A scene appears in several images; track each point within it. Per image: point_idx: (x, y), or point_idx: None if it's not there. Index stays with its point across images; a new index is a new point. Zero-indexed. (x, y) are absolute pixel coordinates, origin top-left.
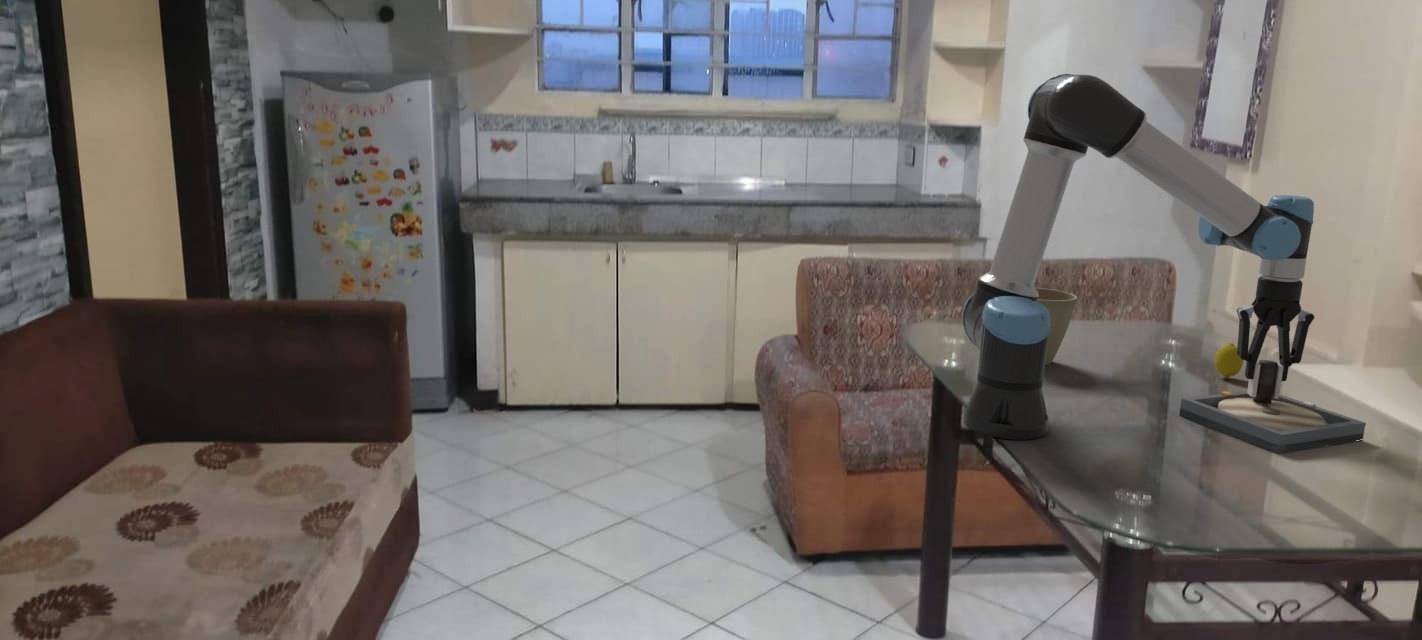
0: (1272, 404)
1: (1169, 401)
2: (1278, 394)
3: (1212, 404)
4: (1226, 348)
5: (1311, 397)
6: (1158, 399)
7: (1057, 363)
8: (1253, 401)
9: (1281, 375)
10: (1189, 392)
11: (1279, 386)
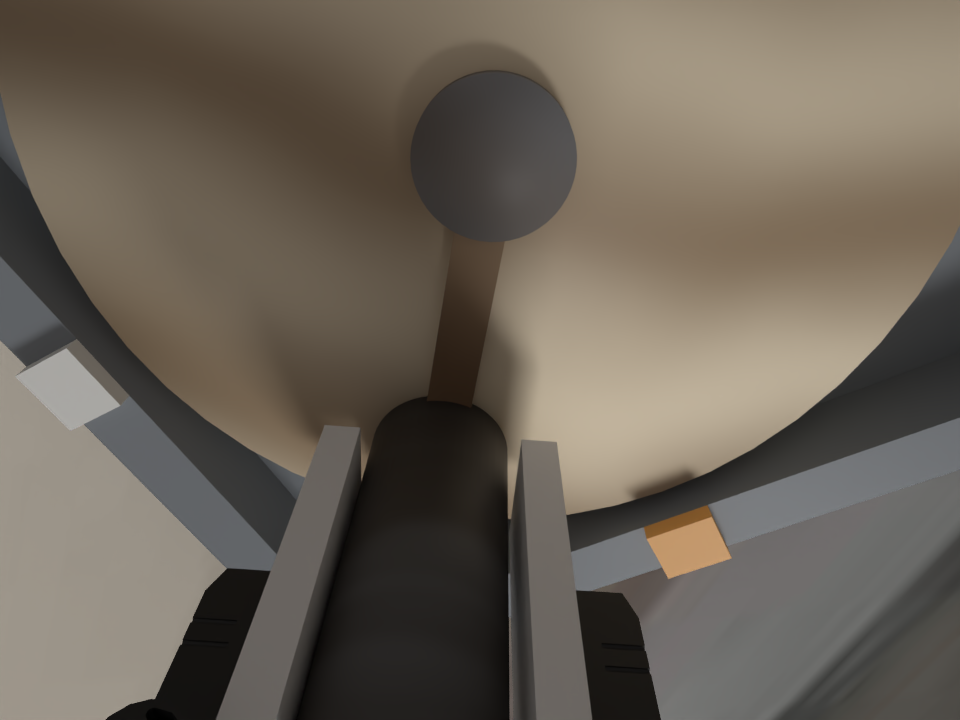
0: (378, 396)
1: (909, 575)
2: (322, 450)
3: (828, 417)
4: None
5: (33, 714)
6: (956, 597)
7: None
8: (511, 445)
9: (267, 607)
10: (671, 710)
11: (306, 505)
